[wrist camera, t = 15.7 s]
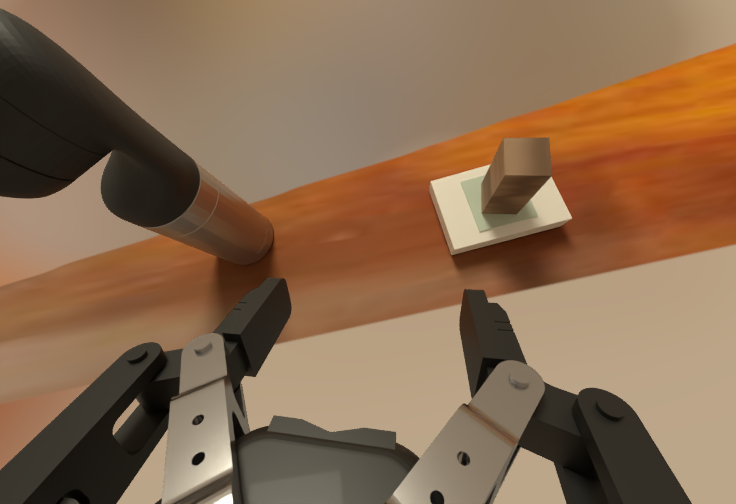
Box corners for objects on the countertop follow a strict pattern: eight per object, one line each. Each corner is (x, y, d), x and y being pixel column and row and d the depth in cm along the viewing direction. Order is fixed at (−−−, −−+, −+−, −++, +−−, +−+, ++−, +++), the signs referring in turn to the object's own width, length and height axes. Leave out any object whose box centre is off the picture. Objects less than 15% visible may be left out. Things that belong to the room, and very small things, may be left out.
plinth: (451, 255, 41) (454, 249, 38) (429, 191, 45) (430, 180, 42) (560, 226, 40) (572, 217, 37) (529, 162, 44) (538, 150, 41)
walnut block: (481, 213, 39) (504, 175, 30) (481, 183, 40) (503, 138, 31) (516, 214, 39) (552, 175, 29) (515, 184, 40) (549, 137, 30)
